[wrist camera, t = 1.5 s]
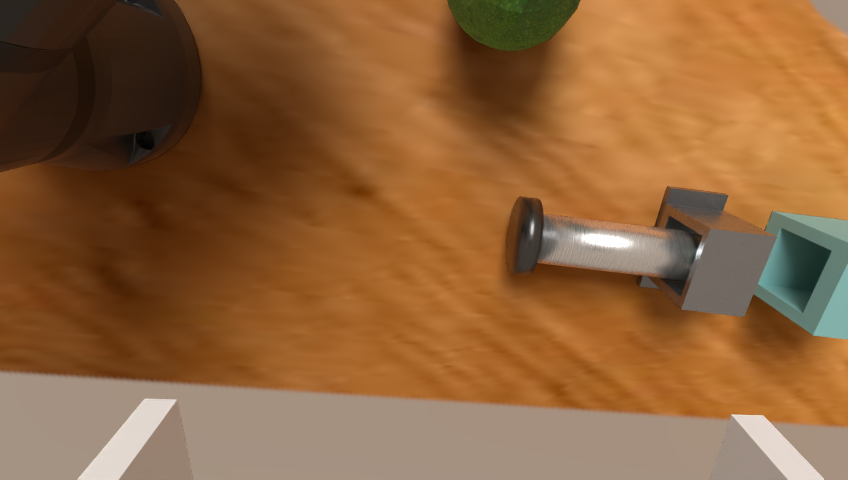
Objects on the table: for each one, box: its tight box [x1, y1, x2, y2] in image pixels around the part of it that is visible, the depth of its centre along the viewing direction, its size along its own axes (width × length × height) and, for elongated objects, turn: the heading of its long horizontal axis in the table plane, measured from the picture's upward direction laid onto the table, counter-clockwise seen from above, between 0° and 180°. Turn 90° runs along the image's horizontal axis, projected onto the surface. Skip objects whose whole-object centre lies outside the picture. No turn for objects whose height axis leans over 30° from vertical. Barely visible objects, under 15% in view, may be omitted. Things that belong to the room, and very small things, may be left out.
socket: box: [754, 211, 848, 339], centre depth 34 cm, size 6×7×8 cm
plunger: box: [506, 197, 702, 281], centre depth 34 cm, size 17×6×6 cm, turn 83°
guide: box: [637, 186, 777, 317], centre depth 34 cm, size 4×8×7 cm, turn 173°
